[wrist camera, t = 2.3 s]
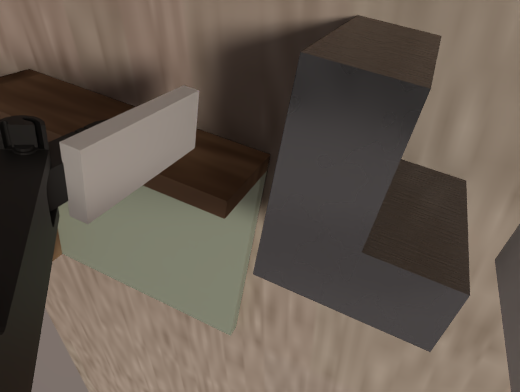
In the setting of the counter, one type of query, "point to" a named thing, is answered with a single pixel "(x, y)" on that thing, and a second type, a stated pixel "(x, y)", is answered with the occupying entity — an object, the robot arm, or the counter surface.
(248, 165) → the walls
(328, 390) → the counter surface
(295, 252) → the bracket
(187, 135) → the robot arm
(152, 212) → the mat
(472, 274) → the counter surface
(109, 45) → the counter surface
